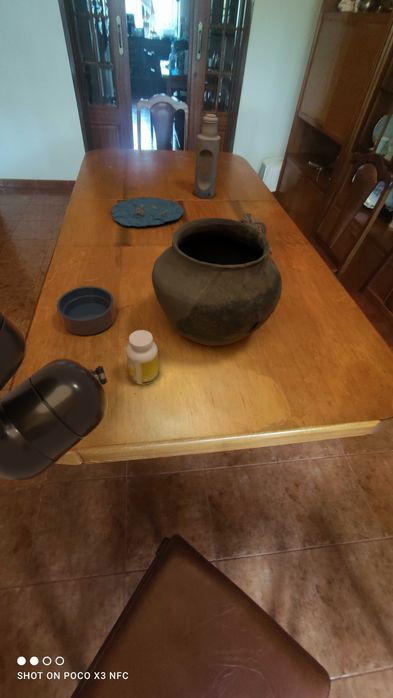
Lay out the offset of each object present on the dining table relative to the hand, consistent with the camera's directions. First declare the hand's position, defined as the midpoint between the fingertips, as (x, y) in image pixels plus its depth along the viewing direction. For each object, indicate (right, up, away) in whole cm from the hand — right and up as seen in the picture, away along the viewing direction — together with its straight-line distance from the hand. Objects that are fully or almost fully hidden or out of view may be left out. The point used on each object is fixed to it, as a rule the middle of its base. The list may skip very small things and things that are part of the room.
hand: (63, 382), depth 58 cm
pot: (+29, +12, +26) cm, 41 cm away
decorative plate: (+4, +60, +70) cm, 93 cm away
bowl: (-4, +14, +25) cm, 29 cm away
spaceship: (+46, +46, +60) cm, 88 cm away
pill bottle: (+12, 0, +14) cm, 19 cm away
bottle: (+28, +77, +88) cm, 120 cm away
